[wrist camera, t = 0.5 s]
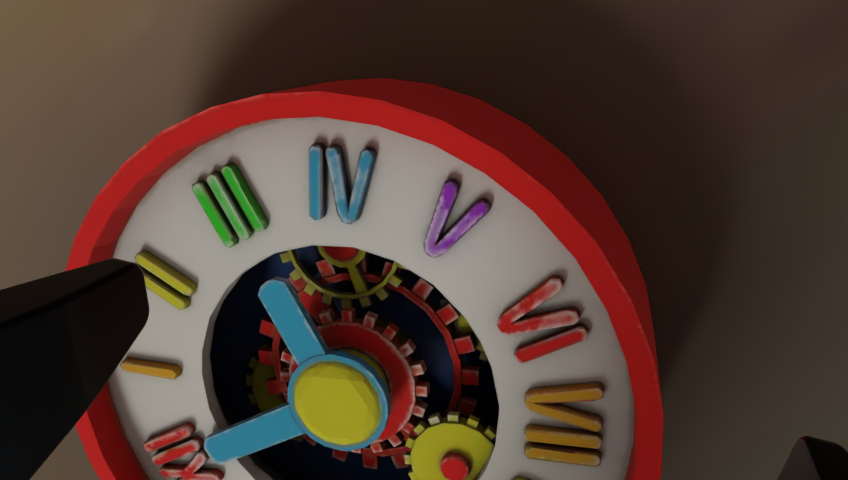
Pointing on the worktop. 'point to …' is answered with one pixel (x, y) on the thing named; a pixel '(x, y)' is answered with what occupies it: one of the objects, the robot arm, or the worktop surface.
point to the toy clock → (371, 299)
